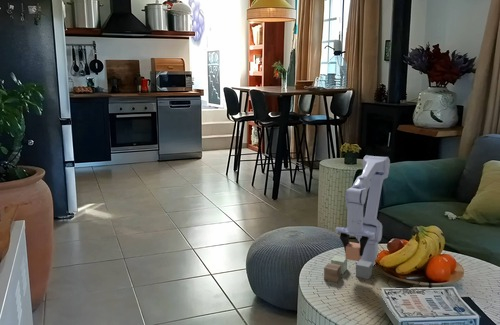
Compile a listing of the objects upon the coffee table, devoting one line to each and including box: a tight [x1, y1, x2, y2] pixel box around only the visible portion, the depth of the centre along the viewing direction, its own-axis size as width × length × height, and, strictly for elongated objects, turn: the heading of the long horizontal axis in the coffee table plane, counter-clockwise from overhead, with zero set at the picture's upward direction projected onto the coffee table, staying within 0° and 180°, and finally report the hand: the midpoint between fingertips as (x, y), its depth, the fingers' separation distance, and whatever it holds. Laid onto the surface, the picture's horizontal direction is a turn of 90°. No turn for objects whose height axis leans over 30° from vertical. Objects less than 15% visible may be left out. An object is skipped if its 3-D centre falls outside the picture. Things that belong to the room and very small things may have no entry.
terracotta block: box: [345, 241, 362, 262], centre depth 172 cm, size 5×5×5 cm
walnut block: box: [323, 262, 342, 283], centre depth 173 cm, size 5×5×5 cm
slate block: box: [355, 260, 373, 280], centre depth 175 cm, size 5×5×5 cm
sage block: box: [330, 254, 348, 275], centre depth 180 cm, size 5×5×5 cm
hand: (354, 253), depth 172 cm, fingers closed on terracotta block, 5 cm apart
